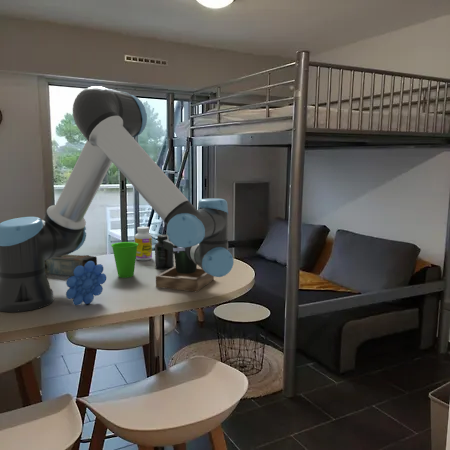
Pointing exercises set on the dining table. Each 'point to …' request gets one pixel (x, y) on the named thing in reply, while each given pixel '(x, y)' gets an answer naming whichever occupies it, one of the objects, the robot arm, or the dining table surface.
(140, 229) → the supplement bottle
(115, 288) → the dining table surface
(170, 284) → the walnut tray
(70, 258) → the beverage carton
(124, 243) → the cup
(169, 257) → the supplement bottle
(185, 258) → the potion bottle
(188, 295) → the dining table surface
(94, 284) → the grapes
